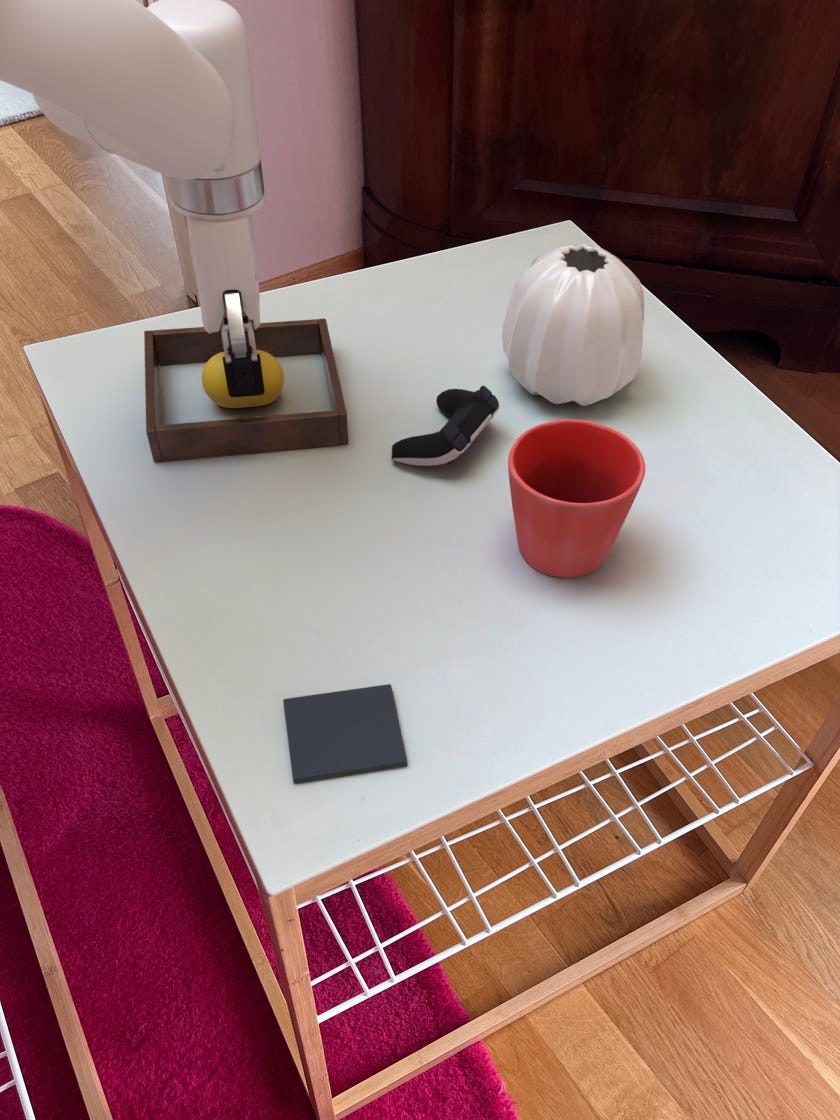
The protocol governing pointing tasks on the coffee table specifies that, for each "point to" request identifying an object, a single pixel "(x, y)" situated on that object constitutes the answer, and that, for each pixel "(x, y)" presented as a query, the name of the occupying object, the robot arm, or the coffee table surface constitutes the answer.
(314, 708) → the mat
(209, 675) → the coffee table surface
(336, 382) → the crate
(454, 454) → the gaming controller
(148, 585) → the coffee table surface
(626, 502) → the flower pot
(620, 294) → the vase
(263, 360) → the yellow grooved capsule
